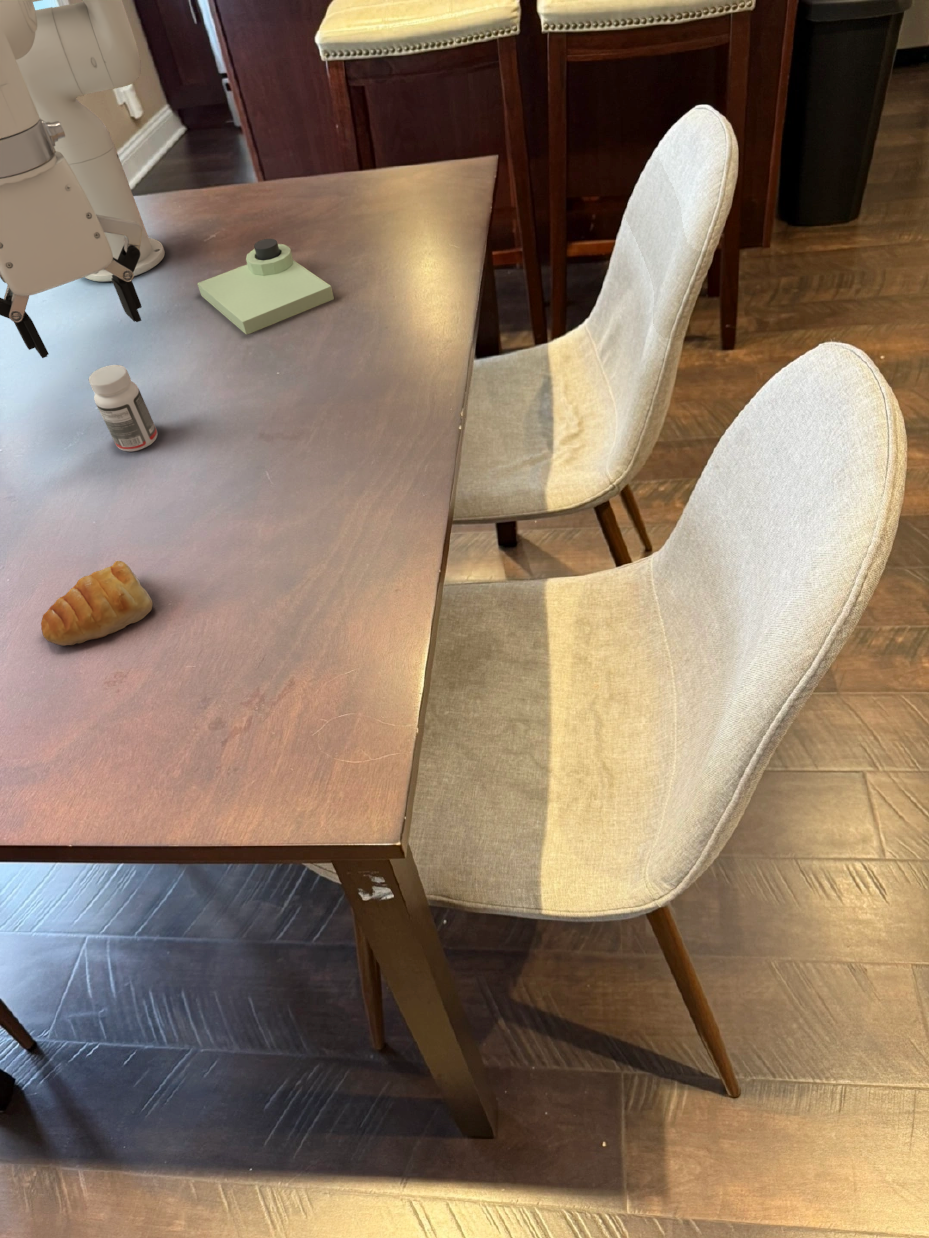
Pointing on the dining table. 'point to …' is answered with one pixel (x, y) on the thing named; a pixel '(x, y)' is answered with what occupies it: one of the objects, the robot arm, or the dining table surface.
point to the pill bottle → (122, 408)
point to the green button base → (265, 291)
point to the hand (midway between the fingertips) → (88, 334)
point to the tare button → (267, 249)
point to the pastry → (97, 606)
